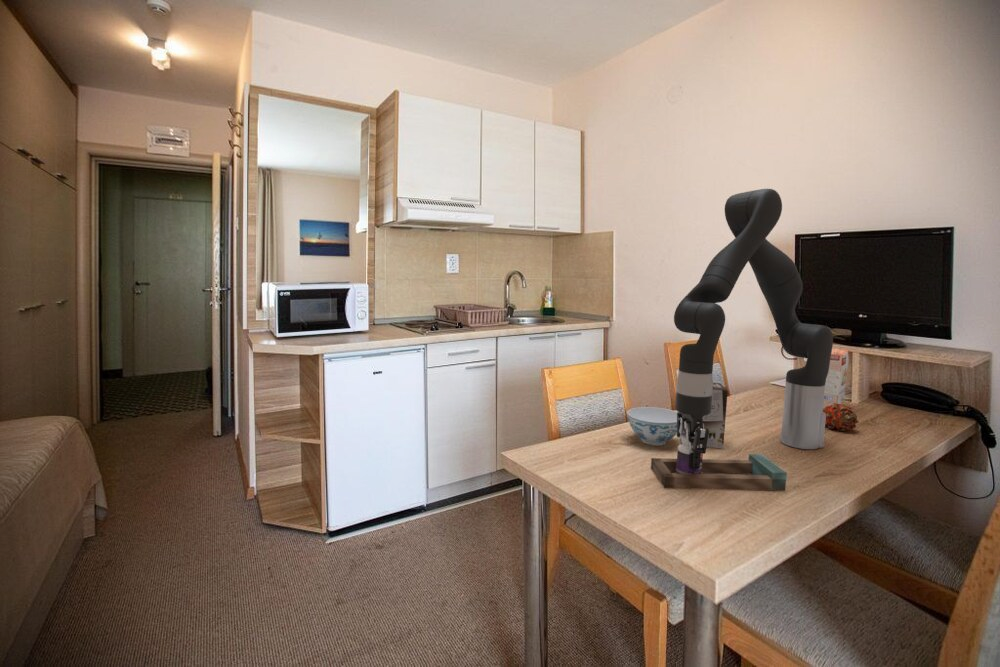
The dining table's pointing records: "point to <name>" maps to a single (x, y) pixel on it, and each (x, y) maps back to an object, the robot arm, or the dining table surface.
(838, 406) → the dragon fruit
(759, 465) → the channel
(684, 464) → the pill bottle
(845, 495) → the dining table surface
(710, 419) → the coffee box
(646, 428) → the chinaware
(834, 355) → the cracker box
